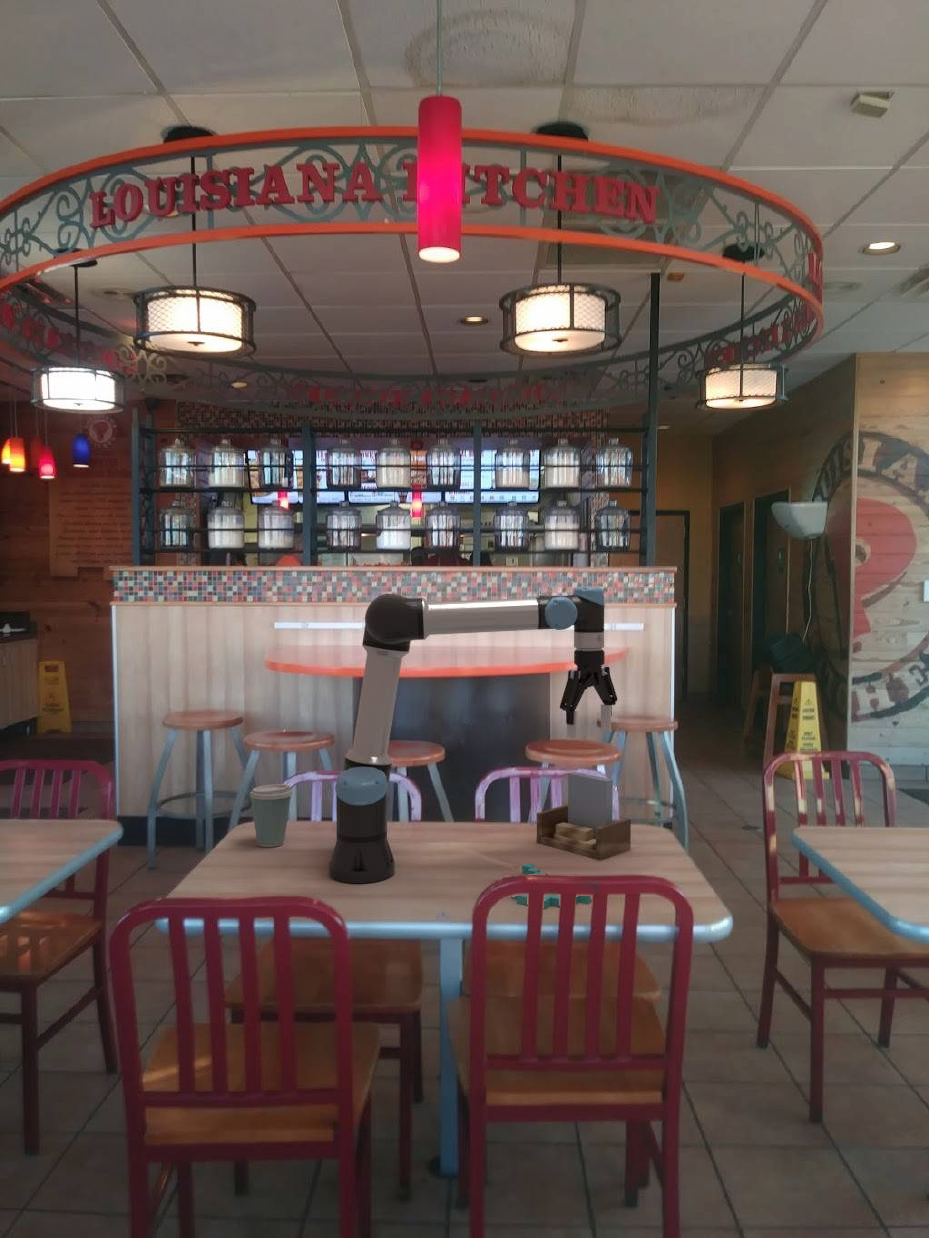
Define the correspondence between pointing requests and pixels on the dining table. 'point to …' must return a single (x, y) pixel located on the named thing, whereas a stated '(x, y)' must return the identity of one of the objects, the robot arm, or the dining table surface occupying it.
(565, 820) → the rack
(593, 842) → the offcut
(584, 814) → the grey rectangular panel
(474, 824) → the dining table surface
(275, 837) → the disposable coffee cup
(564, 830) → the offcut
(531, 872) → the alien figure
